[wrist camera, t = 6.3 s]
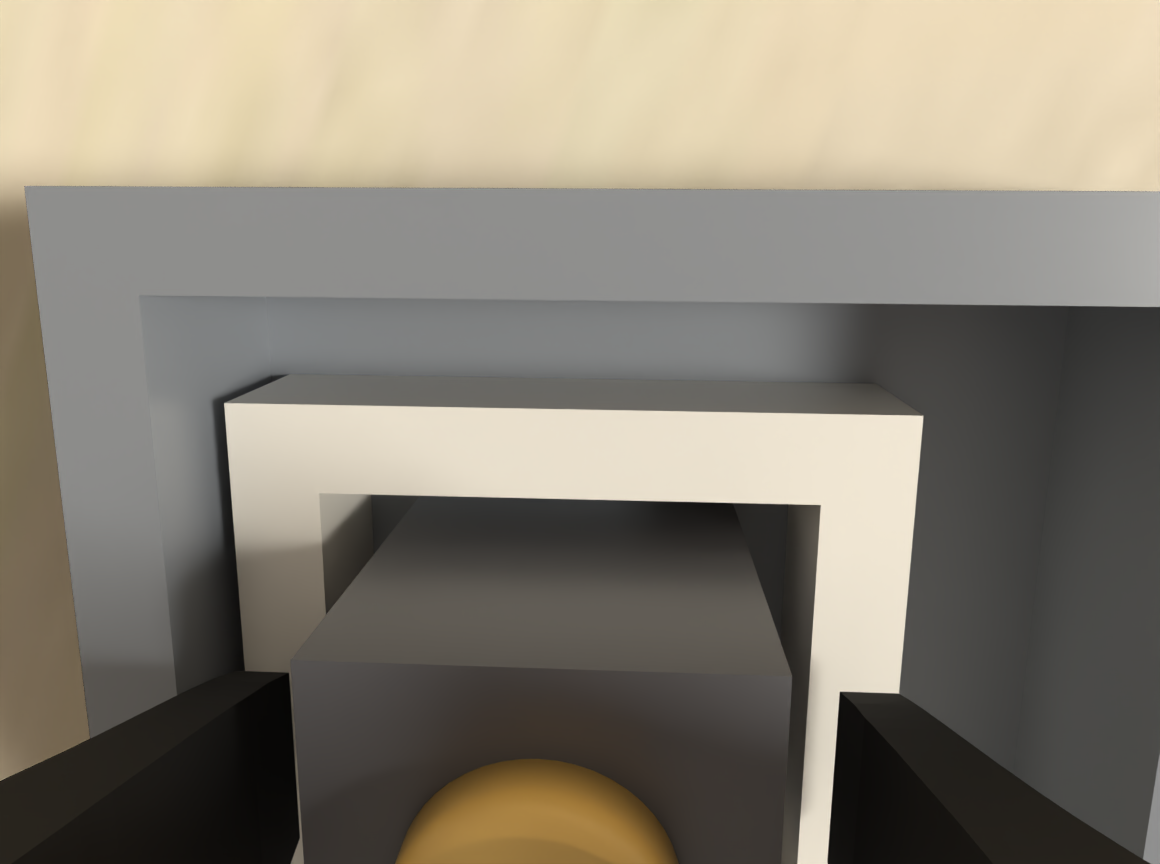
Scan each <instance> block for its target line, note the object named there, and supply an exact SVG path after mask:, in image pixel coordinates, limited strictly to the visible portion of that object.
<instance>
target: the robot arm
mask: <svg viewBox="0 0 1160 864" xmlns="http://www.w3.org/2000/svg"><path fill="white" fill-rule="evenodd" d="M299 839H300V830H299V815H298V800H297V785H296V770H295V755H294V740H293V725H292V710H291V695H290V680H289V673H286V672H257V671H233V672H230V673H227V674H224V675H221V676H219V677H216V678H214V679H211V680H209V681H207V682H204V683H202V684H200V685H198V686H196V687H193V688H191V689H189V690H187V691H185V692H183V693H181V694H179V695H177V696H175V697H173V698H171V699H169V700H167V701H165V702H163V703H161V704H159V705H157V706H155V707H153V708H151V709H149V710H147V711H145V712H143V713H141V714H139V715H137V716H135V717H133V718H131V719H129V720H127V721H125V722H123V723H121V724H119V725H117V726H115V727H113V728H111V729H109V730H107V731H105V732H103V733H101V734H99V735H97V736H95V737H93V738H91V739H89V740H87V741H85V742H83V743H81V744H79V745H77V746H75V747H73V748H71V749H69V750H66V751H64V752H62V753H60V754H58V755H56V756H53V757H51V758H49V759H47V760H45V761H43V762H41V763H38V764H36V765H34V766H32V767H30V768H28V769H25V770H23V771H21V772H19V773H17V774H15V775H12V776H10V777H8V778H6V779H4V780H2V781H0V864H291V861H292V858H293V856H294V853H295V850H296V848H297V845H298V842H299ZM827 862H828V864H1150V863H1149V862H1147V861H1145V860H1144V859H1142V858H1140V857H1139V856H1137V855H1135V854H1134V853H1132V852H1130V851H1129V850H1127V849H1126V848H1124V847H1123V846H1121V845H1119V844H1118V843H1116V842H1115V841H1113V840H1111V839H1110V838H1108V837H1107V836H1105V835H1104V834H1102V833H1100V832H1099V831H1097V830H1096V829H1094V828H1092V827H1091V826H1089V825H1088V824H1086V823H1085V822H1083V821H1081V820H1080V819H1078V818H1077V817H1075V816H1074V815H1072V814H1071V813H1069V812H1068V811H1066V810H1065V809H1063V808H1062V807H1060V806H1059V805H1057V804H1056V803H1054V802H1053V801H1051V800H1050V799H1048V798H1047V797H1045V796H1044V795H1042V794H1041V793H1040V792H1038V791H1037V790H1035V789H1034V788H1032V787H1031V786H1029V785H1028V784H1026V783H1025V782H1024V781H1022V780H1021V779H1019V778H1018V777H1017V776H1015V775H1014V774H1012V773H1011V772H1010V771H1008V770H1007V769H1005V768H1004V767H1002V766H1001V765H1000V764H998V763H997V762H996V761H994V760H993V759H991V758H990V757H989V756H987V755H986V754H984V753H983V752H982V751H980V750H979V749H978V748H976V747H975V746H974V745H972V744H971V743H969V742H968V741H967V740H965V739H964V738H963V737H961V736H960V735H958V734H957V733H956V732H954V731H953V730H952V729H950V728H949V727H948V726H946V725H945V724H943V723H942V722H941V721H939V720H938V719H936V718H935V717H934V716H932V715H931V714H929V713H928V712H927V711H925V710H924V709H922V708H921V707H919V706H918V705H916V704H915V703H913V702H912V701H910V700H909V699H907V698H905V697H904V696H902V695H900V694H898V693H869V692H840V695H839V709H838V722H837V736H836V750H835V763H834V777H833V790H832V804H831V818H830V831H829V845H828V859H827Z"/></svg>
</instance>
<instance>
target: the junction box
mask: <svg viewBox="0 0 1160 864" xmlns="http://www.w3.org/2000/svg"><path fill="white" fill-rule="evenodd" d="M24 187H25V195H26V204H27V212H28V221H29V229H30V237H31V246H32V254H33V263H34V271H35V279H36V288H37V296H38V305H39V313H40V321H41V330H42V338H43V347H44V355H45V364H46V372H47V380H48V389H49V397H50V406H51V414H52V422H53V431H54V439H55V448H56V456H57V464H58V473H59V481H60V490H61V498H62V506H63V515H64V523H65V532H66V540H67V548H68V557H69V565H70V574H71V582H72V590H73V599H74V607H75V616H76V624H77V633H78V641H79V649H80V658H81V666H82V675H83V683H84V691H85V700H86V708H87V717H88V725H89V733H90V739H91V738H93V737H95V736H97V735H99V734H101V733H103V732H105V731H107V730H109V729H111V728H113V727H115V726H117V725H119V724H121V723H123V722H125V721H127V720H129V719H131V718H133V717H135V716H137V715H139V714H141V713H143V712H145V711H147V710H149V709H151V708H153V707H155V706H157V705H159V704H161V703H163V702H165V701H167V700H169V699H171V698H173V697H175V696H177V695H179V694H181V693H183V692H185V691H187V690H189V689H191V688H193V687H196V686H198V685H200V684H202V683H204V682H207V681H209V680H211V679H214V678H216V677H219V676H221V675H224V674H227V673H230V672H233V671H257V672H286V673H289V680H290V695H291V710H292V725H293V740H294V755H295V770H296V785H297V800H298V815H299V830H300V839H299V842H298V845H297V848H296V850H295V853H294V856H293V858H292V861H291V864H304V857H303V842H302V827H301V812H300V797H299V782H298V767H297V752H296V737H295V722H294V707H293V692H292V677H291V662H290V660H291V659H292V657H293V656H294V655H295V654H296V652H297V651H298V650H299V648H300V647H301V646H302V645H303V643H304V642H305V641H306V640H307V638H308V637H309V636H310V635H311V633H312V632H313V631H314V629H315V628H316V627H317V626H318V624H319V623H320V622H321V621H322V619H323V618H324V617H325V616H326V614H327V613H328V612H329V611H330V609H331V608H332V607H333V605H334V604H335V603H336V602H337V600H338V599H339V598H340V597H341V595H342V594H343V593H344V592H345V590H346V589H347V588H348V586H349V585H350V584H351V583H352V581H353V580H354V579H355V578H356V576H357V575H358V574H359V573H360V571H361V570H362V569H363V568H364V566H365V565H366V564H367V562H368V561H369V560H370V559H371V557H372V556H373V555H374V554H375V552H376V551H377V550H378V549H379V547H380V546H381V545H382V543H383V542H384V541H385V540H386V538H387V537H388V536H389V535H390V533H391V532H392V531H393V530H394V528H395V527H396V526H397V525H398V523H399V522H400V521H401V519H402V518H403V517H404V516H405V514H406V513H407V512H408V511H409V509H410V508H411V507H412V506H413V504H414V503H415V502H416V500H417V499H418V498H419V497H420V496H458V497H501V498H544V499H587V500H629V501H672V502H715V503H733V505H734V508H735V511H736V514H737V516H738V519H739V522H740V525H741V528H742V531H743V534H744V537H745V540H746V543H747V546H748V549H749V551H750V554H751V557H752V560H753V563H754V566H755V569H756V572H757V575H758V578H759V581H760V584H761V587H762V589H763V592H764V595H765V598H766V601H767V604H768V607H769V610H770V613H771V616H772V619H773V622H774V624H775V627H776V630H777V633H778V636H779V639H780V642H781V645H782V648H783V651H784V654H785V657H786V659H787V662H788V665H789V668H790V671H791V674H792V690H791V707H790V723H789V740H788V757H787V773H786V790H785V807H784V823H783V840H782V856H781V864H828V862H827V859H828V845H829V831H830V818H831V804H832V790H833V777H834V763H835V750H836V736H837V722H838V709H839V695H840V692H869V693H898V694H900V695H902V696H904V697H905V698H907V699H909V700H910V701H912V702H913V703H915V704H916V705H918V706H919V707H921V708H922V709H924V710H925V711H927V712H928V713H929V714H931V715H932V716H934V717H935V718H936V719H938V720H939V721H941V722H942V723H943V724H945V725H946V726H948V727H949V728H950V729H952V730H953V731H954V732H956V733H957V734H958V735H960V736H961V737H963V738H964V739H965V740H967V741H968V742H969V743H971V744H972V745H974V746H975V747H976V748H978V749H979V750H980V751H982V752H983V753H984V754H986V755H987V756H989V757H990V758H991V759H993V760H994V761H996V762H997V763H998V764H1000V765H1001V766H1002V767H1004V768H1005V769H1007V770H1008V771H1010V772H1011V773H1012V774H1014V775H1015V776H1017V777H1018V778H1019V779H1021V780H1022V781H1024V782H1025V783H1026V784H1028V785H1029V786H1031V787H1032V788H1034V789H1035V790H1037V791H1038V792H1040V793H1041V794H1042V795H1044V796H1045V797H1047V798H1048V799H1050V800H1051V801H1053V802H1054V803H1056V804H1057V805H1059V806H1060V807H1062V808H1063V809H1065V810H1066V811H1068V812H1069V813H1071V814H1072V815H1074V816H1075V817H1077V818H1078V819H1080V820H1081V821H1083V822H1085V823H1086V824H1088V825H1089V826H1091V827H1092V828H1094V829H1096V830H1097V831H1099V832H1100V833H1102V834H1104V835H1105V836H1107V837H1108V838H1110V839H1111V840H1113V841H1115V842H1116V843H1118V844H1119V845H1121V846H1123V847H1124V848H1126V849H1127V850H1129V851H1130V852H1132V853H1134V854H1135V855H1137V856H1139V857H1140V858H1142V859H1144V860H1145V861H1147V862H1149V863H1150V864H1160V192H1150V191H944V190H737V189H530V188H324V187H117V186H24Z"/></svg>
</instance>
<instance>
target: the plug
mask: <svg viewBox="0 0 1160 864" xmlns="http://www.w3.org/2000/svg"><path fill="white" fill-rule="evenodd" d="M290 662H291V677H292V692H293V707H294V722H295V737H296V752H297V767H298V782H299V797H300V812H301V827H302V842H303V857H304V864H781V856H782V840H783V823H784V807H785V790H786V773H787V757H788V740H789V723H790V707H791V690H792V674H791V671H790V668H789V665H788V662H787V659H786V657H785V654H784V651H783V648H782V645H781V642H780V639H779V636H778V633H777V630H776V627H775V624H774V622H773V619H772V616H771V613H770V610H769V607H768V604H767V601H766V598H765V595H764V592H763V589H762V587H761V584H760V581H759V578H758V575H757V572H756V569H755V566H754V563H753V560H752V557H751V554H750V551H749V549H748V546H747V543H746V540H745V537H744V534H743V531H742V528H741V525H740V522H739V519H738V516H737V514H736V511H735V508H734V505H733V503H715V502H672V501H629V500H587V499H544V498H501V497H458V496H420V497H419V498H418V499H417V500H416V502H415V503H414V504H413V506H412V507H411V508H410V509H409V511H408V512H407V513H406V514H405V516H404V517H403V518H402V519H401V521H400V522H399V523H398V525H397V526H396V527H395V528H394V530H393V531H392V532H391V533H390V535H389V536H388V537H387V538H386V540H385V541H384V542H383V543H382V545H381V546H380V547H379V549H378V550H377V551H376V552H375V554H374V555H373V556H372V557H371V559H370V560H369V561H368V562H367V564H366V565H365V566H364V568H363V569H362V570H361V571H360V573H359V574H358V575H357V576H356V578H355V579H354V580H353V581H352V583H351V584H350V585H349V586H348V588H347V589H346V590H345V592H344V593H343V594H342V595H341V597H340V598H339V599H338V600H337V602H336V603H335V604H334V605H333V607H332V608H331V609H330V611H329V612H328V613H327V614H326V616H325V617H324V618H323V619H322V621H321V622H320V623H319V624H318V626H317V627H316V628H315V629H314V631H313V632H312V633H311V635H310V636H309V637H308V638H307V640H306V641H305V642H304V643H303V645H302V646H301V647H300V648H299V650H298V651H297V652H296V654H295V655H294V656H293V657H292V659H291V660H290Z"/></svg>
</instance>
